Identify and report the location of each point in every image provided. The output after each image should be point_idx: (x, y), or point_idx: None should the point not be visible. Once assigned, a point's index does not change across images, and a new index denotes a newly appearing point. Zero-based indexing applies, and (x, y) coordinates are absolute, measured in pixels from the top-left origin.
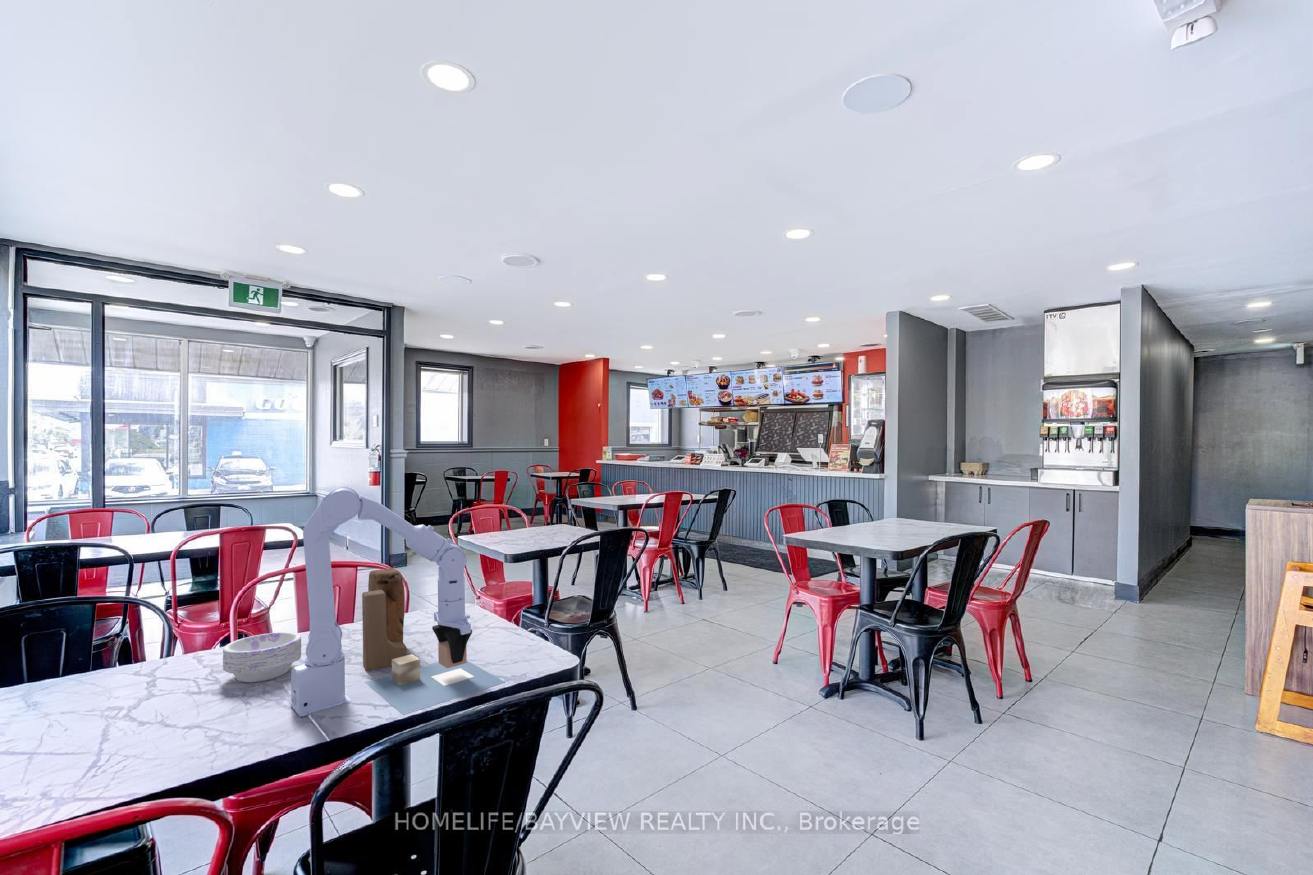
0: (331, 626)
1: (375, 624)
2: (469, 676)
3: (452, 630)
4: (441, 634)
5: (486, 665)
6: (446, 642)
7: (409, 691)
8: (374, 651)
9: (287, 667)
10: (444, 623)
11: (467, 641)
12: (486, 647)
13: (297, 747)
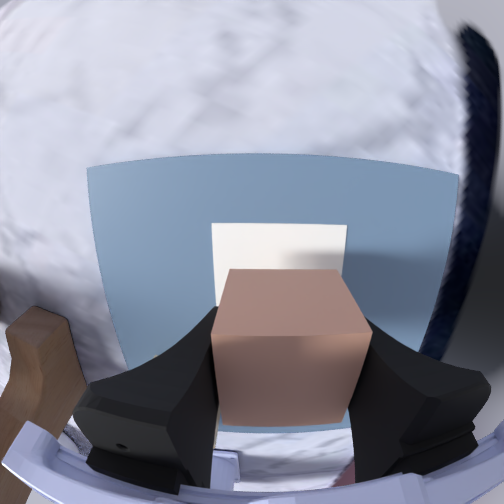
0: None
1: None
2: (330, 238)
3: (197, 415)
4: (208, 450)
5: (230, 106)
6: (250, 405)
7: None
8: (62, 411)
9: None
10: None
11: (425, 357)
12: (65, 56)
13: (328, 482)
